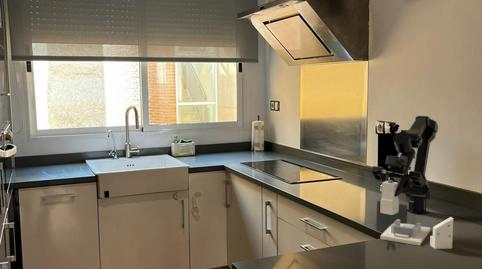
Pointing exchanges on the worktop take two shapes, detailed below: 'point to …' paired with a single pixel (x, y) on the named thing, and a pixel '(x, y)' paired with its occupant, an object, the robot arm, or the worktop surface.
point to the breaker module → (389, 198)
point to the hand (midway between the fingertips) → (388, 195)
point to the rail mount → (406, 233)
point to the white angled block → (442, 235)
